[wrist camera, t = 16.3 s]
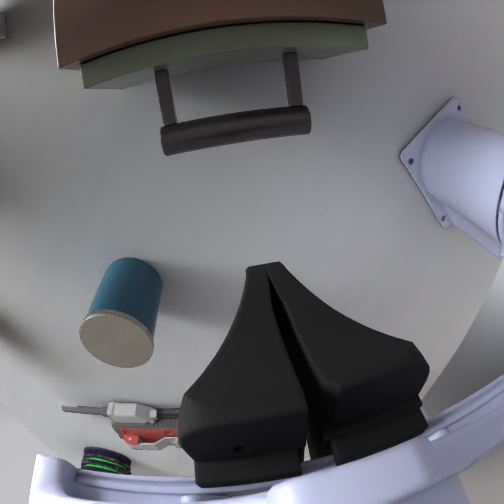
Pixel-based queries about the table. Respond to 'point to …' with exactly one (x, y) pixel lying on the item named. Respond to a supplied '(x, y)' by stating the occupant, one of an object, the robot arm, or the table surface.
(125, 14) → the cabinet
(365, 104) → the table surface
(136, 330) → the tin
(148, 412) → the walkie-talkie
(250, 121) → the drawer
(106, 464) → the dark barrel
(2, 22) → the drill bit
